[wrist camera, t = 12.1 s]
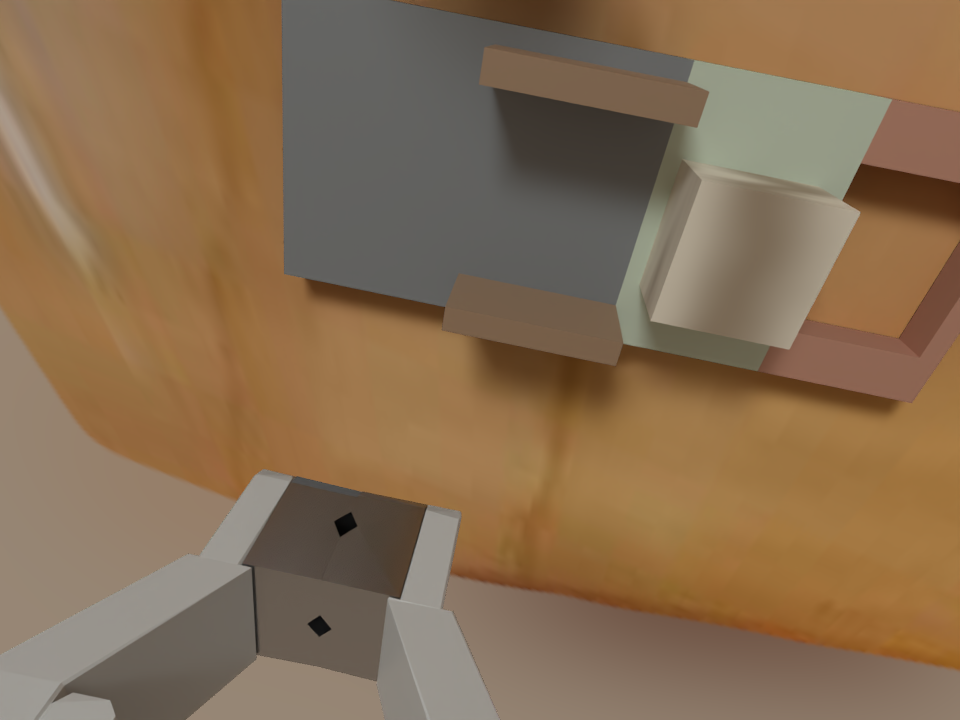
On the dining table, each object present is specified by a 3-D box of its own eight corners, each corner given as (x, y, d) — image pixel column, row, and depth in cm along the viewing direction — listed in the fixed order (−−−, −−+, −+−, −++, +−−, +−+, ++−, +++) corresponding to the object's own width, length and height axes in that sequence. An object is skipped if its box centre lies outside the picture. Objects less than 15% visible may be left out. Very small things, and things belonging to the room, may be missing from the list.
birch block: (819, 186, 25) (860, 212, 21) (760, 309, 28) (789, 349, 24) (682, 159, 25) (702, 180, 21) (639, 284, 28) (650, 320, 25)
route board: (1055, 131, 24) (1187, 158, 19) (892, 382, 31) (958, 452, 26) (300, -18, 25) (233, -30, 20) (299, 260, 32) (248, 305, 26)
